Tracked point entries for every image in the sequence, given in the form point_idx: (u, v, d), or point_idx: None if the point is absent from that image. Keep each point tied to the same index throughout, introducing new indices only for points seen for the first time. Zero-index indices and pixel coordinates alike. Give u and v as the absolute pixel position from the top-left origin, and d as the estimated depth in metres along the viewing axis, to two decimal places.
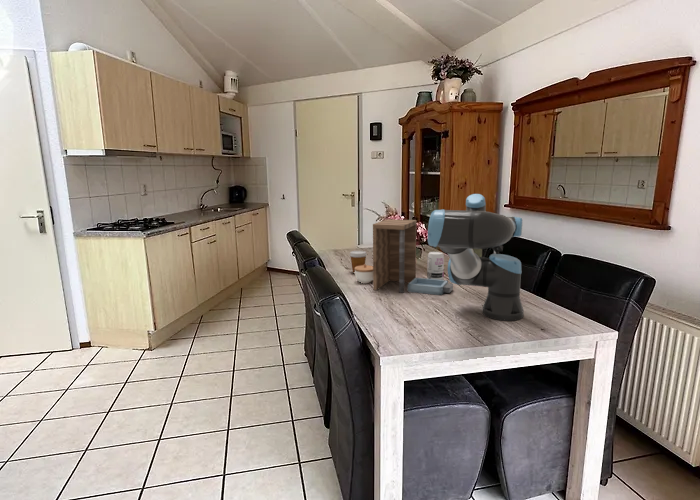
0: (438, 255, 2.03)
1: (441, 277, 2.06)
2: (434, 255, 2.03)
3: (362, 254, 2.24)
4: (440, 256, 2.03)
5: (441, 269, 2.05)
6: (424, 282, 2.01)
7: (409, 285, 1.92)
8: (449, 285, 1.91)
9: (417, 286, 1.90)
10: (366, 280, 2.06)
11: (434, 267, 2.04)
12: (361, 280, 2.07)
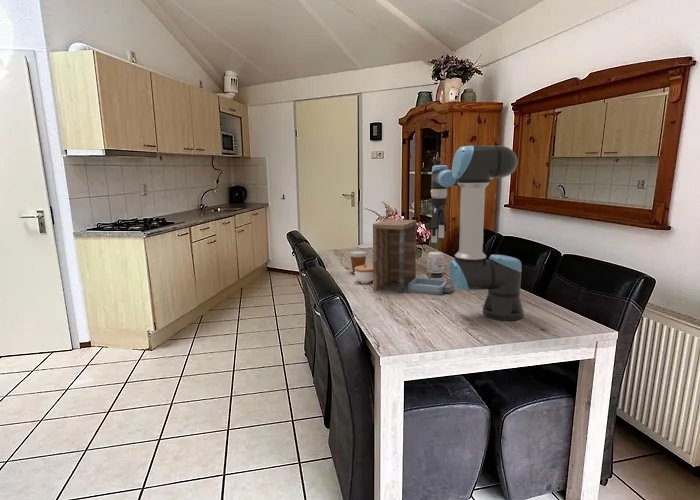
0: (438, 255, 2.03)
1: (441, 277, 2.06)
2: (434, 255, 2.03)
3: (362, 254, 2.24)
4: (440, 256, 2.03)
5: (441, 269, 2.05)
6: (424, 282, 2.01)
7: (409, 285, 1.92)
8: (449, 285, 1.91)
9: (417, 286, 1.90)
10: (366, 280, 2.06)
11: (434, 267, 2.04)
12: (361, 280, 2.07)
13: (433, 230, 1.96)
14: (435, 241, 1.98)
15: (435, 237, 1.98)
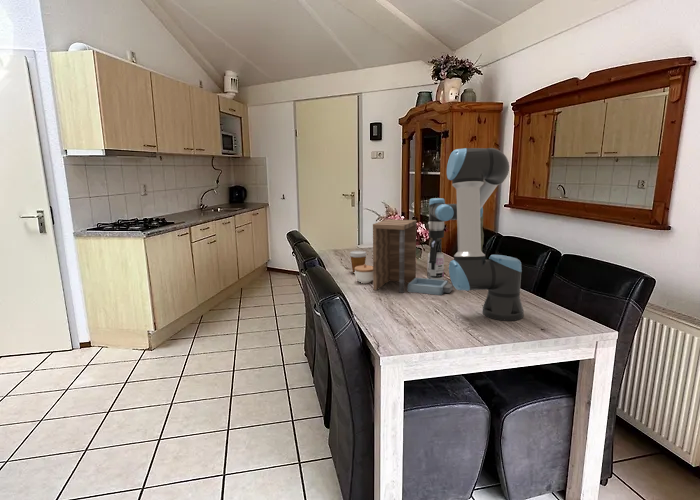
0: (438, 255, 2.03)
1: (441, 277, 2.06)
2: None
3: (362, 254, 2.24)
4: (440, 256, 2.03)
5: (441, 269, 2.05)
6: (424, 282, 2.01)
7: (409, 285, 1.92)
8: (449, 285, 1.91)
9: (417, 286, 1.90)
10: (366, 280, 2.06)
11: None
12: (361, 280, 2.07)
13: (432, 264, 2.02)
14: (434, 274, 2.04)
15: (434, 271, 2.03)
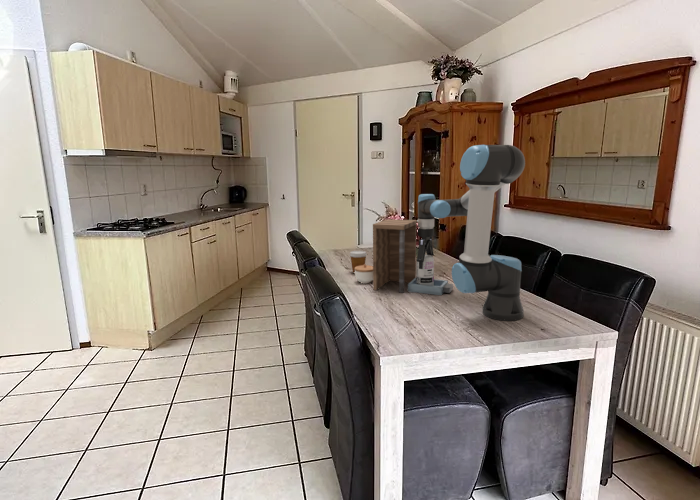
0: (427, 258, 1.89)
1: (431, 282, 1.91)
2: None
3: (362, 254, 2.24)
4: (430, 259, 1.89)
5: (431, 273, 1.91)
6: None
7: (409, 285, 1.92)
8: (449, 285, 1.91)
9: (417, 286, 1.90)
10: (366, 280, 2.06)
11: None
12: (361, 280, 2.07)
13: (420, 263, 1.85)
14: (422, 274, 1.87)
15: (422, 270, 1.87)
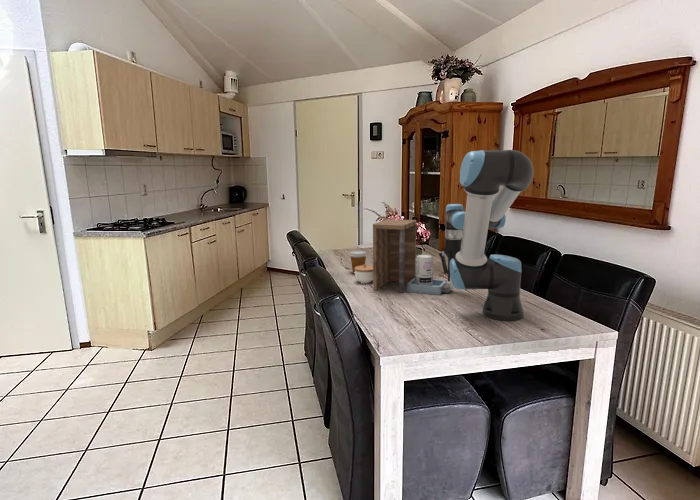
0: (426, 258, 1.89)
1: (430, 282, 1.92)
2: (422, 258, 1.89)
3: (362, 254, 2.24)
4: (429, 259, 1.89)
5: (430, 273, 1.91)
6: None
7: (408, 285, 1.92)
8: (448, 285, 1.91)
9: (416, 286, 1.90)
10: (366, 280, 2.06)
11: (422, 271, 1.90)
12: (361, 280, 2.07)
13: None
14: (454, 286, 1.90)
15: None
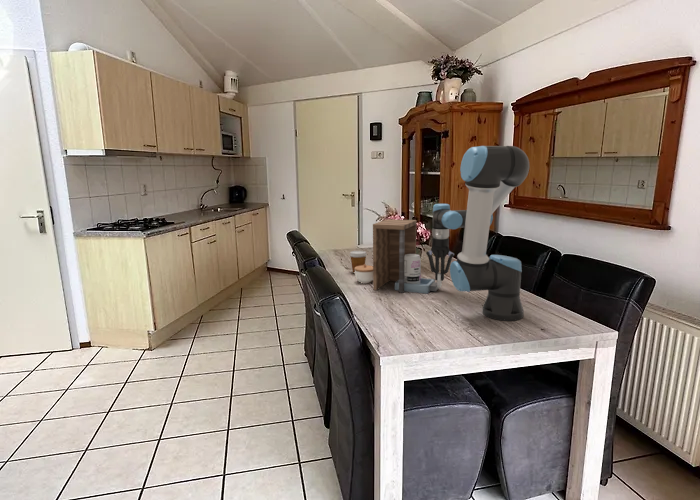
0: (414, 257, 1.92)
1: (418, 281, 1.94)
2: (410, 257, 1.92)
3: (362, 254, 2.24)
4: (416, 258, 1.92)
5: (417, 272, 1.93)
6: None
7: (396, 284, 1.94)
8: (435, 284, 1.93)
9: (404, 285, 1.93)
10: (366, 280, 2.06)
11: (410, 270, 1.92)
12: (361, 280, 2.07)
13: (443, 274, 1.91)
14: (441, 285, 1.93)
15: (441, 281, 1.92)
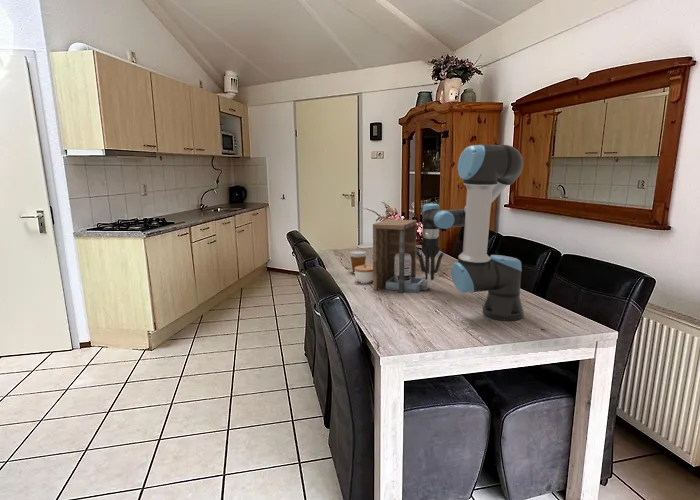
0: (405, 257, 1.94)
1: (408, 280, 1.96)
2: None
3: (362, 254, 2.24)
4: (407, 258, 1.94)
5: (408, 271, 1.95)
6: None
7: (387, 283, 1.96)
8: (426, 283, 1.95)
9: (394, 284, 1.95)
10: (366, 280, 2.06)
11: None
12: (361, 280, 2.07)
13: (433, 274, 1.92)
14: (431, 284, 1.95)
15: (431, 280, 1.94)
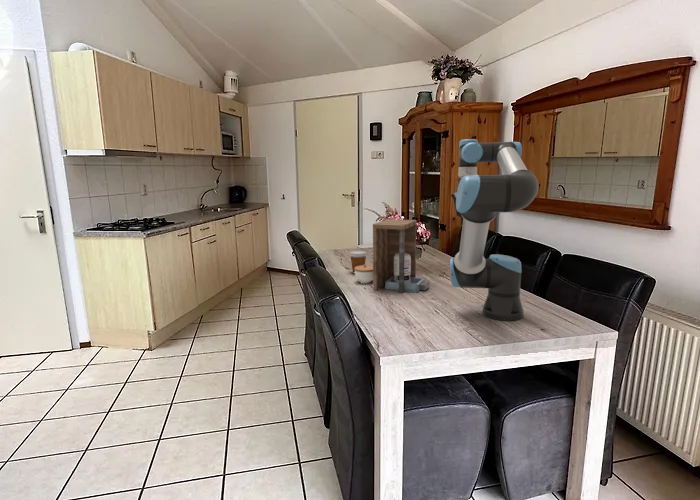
0: (404, 257, 1.94)
1: (408, 280, 1.96)
2: None
3: (362, 254, 2.24)
4: (406, 258, 1.94)
5: (407, 271, 1.95)
6: None
7: (386, 283, 1.96)
8: (425, 283, 1.95)
9: (394, 284, 1.95)
10: (366, 280, 2.06)
11: None
12: (361, 280, 2.07)
13: None
14: None
15: None
